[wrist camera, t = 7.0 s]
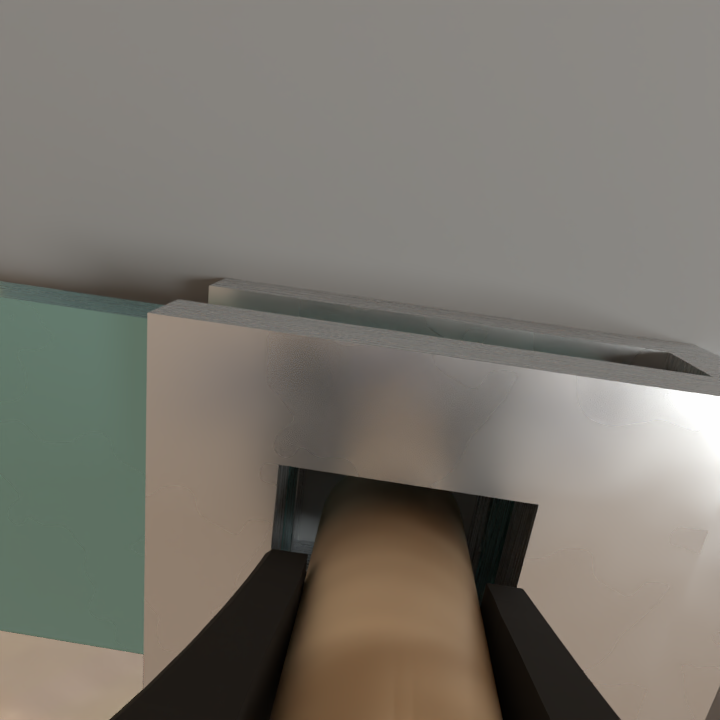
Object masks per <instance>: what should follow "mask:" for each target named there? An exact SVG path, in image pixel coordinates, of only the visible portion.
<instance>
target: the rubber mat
mask: <svg viewBox="0 0 720 720" xmlns="http://www.w3.org/2000/svg"><path fill="white" fill-rule="evenodd" d="M225 278H233V279H240V280H247V281H254V282H261V283H268V284H275V285H282V286H289V287H296V288H303V289H310V290H317V291H324V292H331V293H338V294H345V295H352V296H359V297H366V298H373V299H379V300H386V301H393V302H400V303H407V304H414V305H421V306H428V307H435V308H442V309H449V310H456V311H463V312H470V313H477V314H484V315H491V316H498V317H505V318H512V319H519V320H526V321H533V322H540V323H547V324H554V325H560V326H567V327H574V328H581V329H588V330H595V331H602V332H609V333H616V334H623V335H630V336H637V337H644V338H651V339H658V340H665V341H672V342H679V343H686V344H693V345H697V346H699V347H701V348H703V349H705V350H707V351H709V352H711V353H714V354H716V355H718V356H720V0H0V281H3V282H10V283H17V284H24V285H31V286H37V287H44V288H51V289H58V290H65V291H72V292H79V293H85V294H92V295H99V296H106V297H113V298H120V299H127V300H133V301H140V302H147V303H154V304H161V305H166V304H168V303H171V302H173V301H175V300H178V299H180V300H187V301H194V302H201V303H207V304H208V297H209V285H211V284H214V283H216V282H218V281H221V280H223V279H225ZM346 476H347V475H343V474H337V473H330V472H324V471H317V470H311V469H306V471H305V480H304V489H303V498H302V506H301V515H300V524H299V533H298V540H305V541H311V542H315V538H316V534H317V530H318V526H319V522H320V518H321V514H322V511H323V507H324V504H325V501H326V499H327V497H328V495H329V494H330V492H331V491H332V489H333V488H334V487H335V486H336V485H337V483H339V482H340V481H341V480H342V479H343V478H344V477H346ZM450 492H451V493H452V495H453V496H454V498H455V500H456V502H457V504H458V506H459V509H460V513H461V516H462V521H463V526H464V531H465V536H466V541H468V537H469V532H470V528H471V524H472V519H473V515H474V510H475V506H476V501H477V497H478V495H473V494H466V493H460V492H453V491H450ZM705 720H720V686H719V689H718V691H717V693H716V696H715V698H714V700H713V703H712V705H711V707H710V709H709V712H708V714H707V716H706V719H705Z"/></svg>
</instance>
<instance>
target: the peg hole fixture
mask: <svg viewBox="0 0 720 720" xmlns="http://www.w3.org/2000/svg"><path fill="white" fill-rule="evenodd" d="M306 469H311V470H317V471H324V472H330V473H337V474H343V475H349V476H356V477H362V478H369V479H375V480H382V481H388V482H395V483H401V484H408V485H414V486H421V487H427V488H434V489H440V490H447V491H453V492H460V493H466V494H473V495H478V497H477V501H476V506H475V510H474V515H473V519H472V524H471V528H470V532H469V537H468V541H467V546H468V551H469V556H470V561H471V566H472V570H473V575H474V580H475V585H476V590H477V595H478V600H479V605H480V607H481V603H482V599H483V595H484V590H485V586H486V583H491V584H497V585H503V586H510V587H516V588H522V589H524V591H525V592H526V593H527V595H528V596H529V597H530V599H531V600H532V602H533V603H534V604H535V606H536V607H537V609H538V610H539V611H540V613H541V614H542V615H543V617H544V618H545V620H546V621H547V622H548V624H549V625H550V626H551V628H552V629H553V631H554V632H555V633H556V635H557V636H558V637H559V639H560V640H561V642H562V643H563V644H564V646H565V647H566V648H567V650H568V651H569V652H570V654H571V655H572V657H573V658H574V659H575V661H576V662H577V663H578V665H579V666H580V667H581V669H582V670H583V671H584V673H585V674H586V675H587V677H588V678H589V679H590V681H591V682H592V683H593V684H594V686H595V687H596V688H597V690H598V691H599V692H600V693H601V695H602V696H603V697H604V699H605V700H606V701H607V703H608V704H609V705H610V706H611V708H612V709H613V710H614V711H615V713H616V714H617V715H618V716H619V718H620V719H621V720H705V719H706V716H707V714H708V712H709V709H710V707H711V705H712V703H713V700H714V698H715V696H716V693H717V691H718V689H719V686H720V356H718V355H716V354H714V353H711V352H709V351H707V350H705V349H703V348H701V347H699V346H697V345H693V344H686V343H679V342H672V341H665V340H658V339H651V338H644V337H637V336H630V335H623V334H616V333H609V332H602V331H595V330H588V329H581V328H574V327H567V326H560V325H554V324H547V323H540V322H533V321H526V320H519V319H512V318H505V317H498V316H491V315H484V314H477V313H470V312H463V311H456V310H449V309H442V308H435V307H428V306H421V305H414V304H407V303H400V302H393V301H386V300H379V299H373V298H366V297H359V296H352V295H345V294H338V293H331V292H324V291H317V290H310V289H303V288H296V287H289V286H282V285H275V284H268V283H261V282H254V281H247V280H240V279H233V278H225V279H223V280H221V281H218V282H216V283H214V284H211V285H209V297H208V304H207V303H201V302H194V301H187V300H180V299H178V300H175V301H173V302H171V303H168V304H166V305H161V304H154V303H147V302H140V301H133V300H127V299H120V298H113V297H106V296H99V295H92V294H85V293H79V292H72V291H65V290H58V289H51V288H44V287H37V286H31V285H24V284H17V283H10V282H3V281H0V630H1V631H7V632H13V633H19V634H25V635H31V636H37V637H43V638H49V639H55V640H60V641H66V642H72V643H78V644H84V645H90V646H96V647H102V648H108V649H114V650H120V651H126V652H132V653H138V654H144V666H143V689H144V688H145V687H146V686H147V685H148V684H149V683H150V682H151V681H152V680H153V679H154V678H155V677H156V676H157V675H158V674H159V673H160V672H161V671H162V670H163V669H164V668H165V667H166V666H167V665H168V664H169V663H170V662H171V661H172V660H173V659H174V658H175V657H176V656H177V655H178V654H179V653H180V652H181V651H182V650H183V649H184V648H185V647H186V646H187V645H188V644H189V643H190V642H191V641H192V640H193V639H194V638H195V637H196V636H197V635H198V634H199V633H200V632H201V630H202V629H203V628H204V627H205V626H206V625H207V624H208V623H209V622H210V621H211V619H212V618H213V617H214V616H215V615H216V614H217V613H218V612H219V611H220V610H221V609H222V607H223V606H224V605H225V604H226V603H227V602H228V601H229V599H230V598H231V597H232V596H233V595H234V593H235V592H236V591H237V590H238V589H239V587H240V586H241V585H242V584H243V583H244V581H245V580H246V579H247V578H248V576H249V575H250V574H251V573H252V571H253V570H254V569H255V567H256V566H257V565H258V563H259V562H260V561H261V559H262V558H263V556H264V555H265V553H267V552H268V551H270V550H271V549H278V550H284V551H290V552H297V553H303V554H308V558H307V566H306V574H307V570H308V566H309V562H310V558H311V554H312V550H313V546H314V542H311V541H305V540H298V533H299V524H300V515H301V506H302V498H303V489H304V480H305V471H306ZM305 578H306V575H305Z"/></svg>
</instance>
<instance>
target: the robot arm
mask: <svg viewBox="0 0 720 720" xmlns="http://www.w3.org/2000/svg"><path fill="white" fill-rule="evenodd" d="M307 558H308V554H303V553H297V552H290V551H284V550H278V549H271V550H270V551H268V552H267V553H265V555H264V556H263V558H262V559H261V561H260V562H259V563H258V565H257V566H256V567H255V569H254V570H253V571H252V573H251V574H250V575H249V576H248V578H247V579H246V580H245V581H244V583H243V584H242V585H241V586H240V587H239V589H238V590H237V591H236V592H235V593H234V595H233V596H232V597H231V598H230V599H229V601H228V602H227V603H226V604H225V605H224V606H223V607H222V609H221V610H220V611H219V612H218V613H217V614H216V615H215V616H214V617H213V618H212V619H211V621H210V622H209V623H208V624H207V625H206V626H205V627H204V628H203V629H202V630H201V632H200V633H199V634H198V635H197V636H196V637H195V638H194V639H193V640H192V641H191V642H190V643H189V644H188V645H187V646H186V647H185V648H184V649H183V650H182V651H181V652H180V653H179V654H178V655H177V656H176V657H175V658H174V659H173V660H172V661H171V662H170V663H169V664H168V665H167V666H166V667H165V668H164V669H163V670H162V671H161V672H160V673H159V674H158V675H157V676H156V677H155V678H154V679H153V680H152V681H151V682H150V683H149V684H148V685H147V686H146V687H145V688H144V689H143V690H142V691H141V692H140V693H138V694H137V695H136V696H135V697H134V698H133V699H132V700H131V701H130V702H129V703H128V704H126V705H125V706H124V707H123V708H122V709H121V710H120V711H119V712H118V713H116V714H115V715H114V716H113V717H112V718H111V719H110V720H270V716H271V712H272V708H273V704H274V700H275V696H276V692H277V688H278V684H279V680H280V676H281V672H282V669H283V665H284V661H285V657H286V653H287V649H288V645H289V641H290V638H291V634H292V630H293V626H294V623H295V619H296V615H297V611H298V607H299V603H300V599H301V595H302V591H303V587H304V583H305V575H306V566H307ZM480 610H481V615H482V620H483V624H484V629H485V634H486V639H487V644H488V649H489V654H490V659H491V664H492V669H493V674H494V678H495V683H496V688H497V693H498V698H499V703H500V708H501V713H502V718H503V720H621V719H620V718H619V716H618V715H617V714H616V713H615V711H614V710H613V709H612V708H611V706H610V705H609V704H608V703H607V701H606V700H605V699H604V697H603V696H602V695H601V693H600V692H599V691H598V690H597V688H596V687H595V686H594V684H593V683H592V682H591V681H590V679H589V678H588V677H587V675H586V674H585V673H584V671H583V670H582V669H581V667H580V666H579V665H578V663H577V662H576V661H575V659H574V658H573V657H572V655H571V654H570V652H569V651H568V650H567V648H566V647H565V646H564V644H563V643H562V642H561V640H560V639H559V637H558V636H557V635H556V633H555V632H554V631H553V629H552V628H551V626H550V625H549V624H548V622H547V621H546V620H545V618H544V617H543V615H542V614H541V613H540V611H539V610H538V609H537V607H536V606H535V604H534V603H533V602H532V600H531V599H530V597H529V596H528V595H527V593H526V592H525V591H524V589H522V588H516V587H510V586H503V585H497V584H491V583H486V586H485V590H484V595H483V599H482V603H481V607H480Z"/></svg>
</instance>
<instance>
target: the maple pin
mask: <svg viewBox="0 0 720 720" xmlns="http://www.w3.org/2000/svg"><path fill="white" fill-rule="evenodd" d="M270 720H503V718H502V713H501V708H500V703H499V698H498V693H497V688H496V683H495V678H494V674H493V669H492V664H491V659H490V654H489V649H488V644H487V639H486V634H485V629H484V624H483V620H482V615H481V610H480V605H479V600H478V595H477V590H476V585H475V580H474V575H473V570H472V566H471V561H470V556H469V551H468V546H467V541H466V536H465V531H464V526H463V521H462V516H461V513H460V509H459V506H458V504H457V502H456V500H455V498H454V496H453V495H452V493H451V492H450V491H447V490H440V489H434V488H427V487H421V486H414V485H408V484H401V483H395V482H388V481H382V480H375V479H369V478H362V477H356V476H349V475H347V476H346V477H344V478H343V479H342V480H341V481H340V482H339V483H337V485H336V486H335V487H334V488H333V489H332V491H331V492H330V494H329V495H328V497H327V499H326V501H325V504H324V507H323V511H322V514H321V518H320V522H319V526H318V530H317V534H316V538H315V542H314V546H313V550H312V554H311V558H310V562H309V566H308V570H307V574H306V578H305V583H304V587H303V591H302V595H301V599H300V603H299V607H298V611H297V615H296V619H295V623H294V626H293V630H292V634H291V638H290V641H289V645H288V649H287V653H286V657H285V661H284V665H283V669H282V672H281V676H280V680H279V684H278V688H277V692H276V696H275V700H274V704H273V708H272V712H271V716H270Z"/></svg>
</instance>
